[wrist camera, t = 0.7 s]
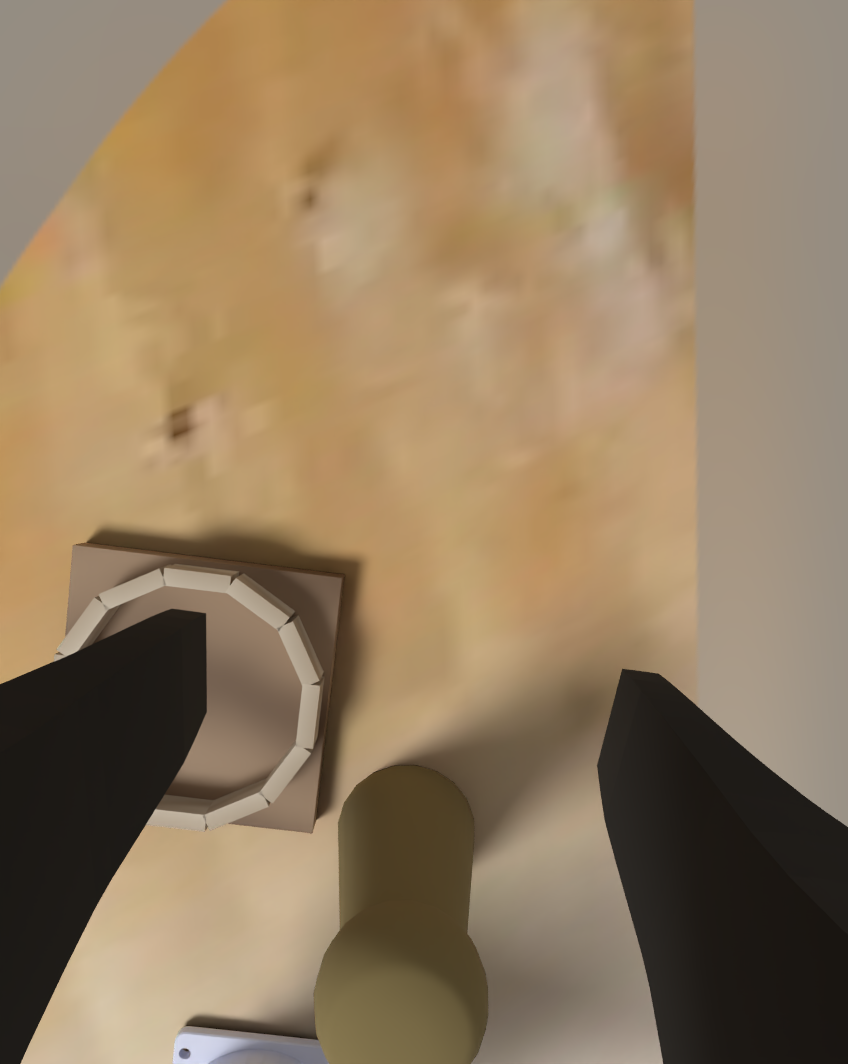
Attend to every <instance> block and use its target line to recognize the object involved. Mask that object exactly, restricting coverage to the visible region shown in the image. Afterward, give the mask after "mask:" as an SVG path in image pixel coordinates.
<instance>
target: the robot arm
mask: <svg viewBox="0 0 848 1064" xmlns="http://www.w3.org/2000/svg"><path fill="white" fill-rule="evenodd" d="M206 713H207V648H206V613H201V612H194V611H187V610H179V609H169V610H166V611H164V612H161V613H159V614H156V615H154V616H152V617H149V618H147V619H145V620H143V621H141V622H138V623H136V624H134V625H132V626H130V627H128V628H126V629H124V630H122V631H119V632H117V633H115V634H113V635H111V636H109V637H107V638H105V639H103V640H100V641H98V642H96V643H94V644H92V645H90V646H88V647H86V648H83V649H81V650H79V651H77V652H75V653H73V654H71V655H68V656H66V657H64V658H61V659H59V660H57V661H54V662H52V663H50V664H47V665H45V666H43V667H40V668H38V669H36V670H33V671H31V672H28V673H26V674H24V675H21V676H19V677H17V678H14V679H12V680H10V681H7V682H5V683H2V684H0V1064H20V1063H21V1061H22V1059H23V1057H24V1054H25V1052H26V1050H27V1048H28V1045H29V1043H30V1041H31V1039H32V1037H33V1035H34V1033H35V1031H36V1028H37V1026H38V1024H39V1022H40V1020H41V1018H42V1016H43V1014H44V1012H45V1009H46V1007H47V1005H48V1003H49V1001H50V999H51V997H52V995H53V993H54V991H55V988H56V986H57V984H58V982H59V980H60V978H61V976H62V974H63V972H64V969H65V967H66V965H67V963H68V961H69V959H70V957H71V955H72V953H73V951H74V949H75V947H76V945H77V943H78V941H79V939H80V937H81V935H82V933H83V931H84V929H85V927H86V925H87V923H88V921H89V919H90V917H91V915H92V913H93V911H94V909H95V908H96V906H97V904H98V902H99V900H100V899H101V897H102V895H103V893H104V892H105V890H106V888H107V886H108V885H109V883H110V881H111V879H112V878H113V876H114V875H115V873H116V871H117V870H118V868H119V867H120V865H121V863H122V862H123V860H124V859H125V857H126V855H127V854H128V852H129V851H130V849H131V847H132V846H133V844H134V843H135V841H136V839H137V838H138V836H139V835H140V833H141V831H142V830H143V828H144V827H145V825H146V824H147V822H148V820H149V819H150V817H151V816H152V814H153V812H154V811H155V809H156V808H157V806H158V804H159V803H160V801H161V800H162V798H163V796H164V795H165V793H166V791H167V790H168V788H169V787H170V785H171V783H172V782H173V780H174V779H175V777H176V775H177V774H178V772H179V770H180V769H181V767H182V765H183V764H184V762H185V760H186V758H187V755H188V753H189V751H190V749H191V747H192V745H193V743H194V740H195V738H196V736H197V734H198V731H199V729H200V727H201V724H202V722H203V720H204V717H205V715H206ZM597 768H598V775H599V783H600V791H601V799H602V805H603V812H604V818H605V823H606V827H607V831H608V834H609V838H610V842H611V845H612V849H613V853H614V856H615V860H616V864H617V867H618V871H619V874H620V878H621V882H622V885H623V889H624V892H625V896H626V899H627V903H628V906H629V910H630V913H631V917H632V921H633V924H634V928H635V931H636V935H637V938H638V942H639V945H640V949H641V953H642V957H643V961H644V965H645V969H646V973H647V978H648V982H649V986H650V991H651V997H652V1002H653V1008H654V1014H655V1019H656V1025H657V1030H658V1036H659V1041H660V1047H661V1052H662V1058H663V1064H848V827H847V826H845V825H844V824H842V823H841V822H840V821H838V820H836V819H835V818H834V817H832V816H831V815H829V814H828V813H826V812H825V811H824V810H822V809H821V808H820V807H818V806H817V805H816V804H814V803H813V802H811V801H810V800H808V799H807V798H806V797H805V796H803V795H802V794H801V793H800V792H798V791H797V790H796V789H794V788H793V787H792V786H791V785H789V784H788V783H787V782H786V781H784V780H783V779H782V778H780V777H779V776H778V775H777V774H775V773H774V772H773V771H772V770H770V769H769V768H768V767H767V766H765V765H764V764H763V763H762V762H760V761H759V760H758V759H757V758H756V757H755V756H753V755H752V754H751V753H750V752H749V751H747V750H746V749H745V748H744V747H743V746H741V745H740V744H739V743H738V742H737V741H736V740H734V739H733V738H732V737H731V736H730V735H729V734H728V733H726V732H725V731H724V730H723V729H722V728H721V727H720V726H719V725H717V724H716V723H715V722H714V721H713V720H712V719H711V718H710V717H708V716H707V715H706V714H705V713H704V712H703V711H702V710H701V709H700V708H698V707H697V706H696V705H695V704H694V703H693V702H692V701H691V700H689V699H688V698H687V697H686V696H685V695H684V694H683V693H681V692H680V691H679V690H678V689H677V688H676V687H675V686H673V685H672V684H671V683H670V682H669V681H667V680H666V679H665V678H663V677H662V676H661V675H659V674H657V673H650V672H642V671H635V670H627V669H622V672H621V676H620V680H619V684H618V687H617V691H616V695H615V699H614V703H613V707H612V711H611V714H610V718H609V722H608V726H607V730H606V734H605V737H604V741H603V745H602V749H601V753H600V757H599V760H598V764H597ZM183 1048H186V1049H189V1051H185V1050H184V1049H183ZM173 1064H329V1063H328V1061H327V1059H326V1058H325V1055H324V1053H323V1050H322V1047H321V1045H320V1042H319V1040H314V1039H305V1038H296V1037H286V1036H277V1035H268V1034H258V1033H249V1032H240V1031H230V1030H221V1029H212V1028H202V1027H193V1026H185V1027H183V1028H181V1029H180V1030H179V1032H178V1034H177V1036H176V1039H175V1045H174V1055H173Z"/></svg>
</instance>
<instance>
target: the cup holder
mask: <svg viewBox="0 0 848 1064" xmlns="http://www.w3.org/2000/svg"><path fill="white" fill-rule="evenodd" d="M344 576H345V574H337V573H329V572H321V571H312V570H304V569H296V568H288V567H280V566H272V565H263V564H255V563H247V562H239V561H231V560H223V559H215V558H206V557H198V556H190V555H182V554H174V553H166V552H157V551H149V550H141V549H133V548H125V547H117V546H109V545H100V544H92V543H81V544H76V545H73V550H72V562H71V574H70V586H69V598H68V610H67V622H66V635H65V638H64V640H63V641H62V643H61V644H60V645H59V647H58V648H57V649H56V650H58V651H59V652H58V653H56V654H55V656H54V661H57V660H59V659H61V658H64V657H66V656H68V655H71V654H73V653H75V652H77V651H79V650H81V649H83V648H86V647H88V646H90V645H92V644H94V643H96V642H98V641H100V640H103V639H105V638H107V637H109V636H111V635H113V634H115V633H117V632H119V631H122V630H124V629H126V628H128V627H130V626H132V625H134V624H136V623H138V622H141V621H143V620H145V619H147V618H149V617H152V616H154V615H156V614H159V613H161V612H164V611H166V610H169V609H179V610H187V611H194V612H201V613H206V648H207V713H206V715H205V717H204V720H203V722H202V724H201V727H200V729H199V731H198V734H197V736H196V738H195V740H194V743H193V745H192V747H191V749H190V751H189V753H188V755H187V758H186V760H185V762H184V764H183V765H182V767H181V769H180V770H179V772H178V774H177V775H176V777H175V779H174V780H173V782H172V783H171V785H170V787H169V788H168V790H167V791H166V793H165V795H164V796H163V798H162V800H161V801H160V803H159V804H158V806H157V808H156V809H155V811H154V812H153V814H152V816H151V817H150V819H149V820H148V822H147V824H146V825H150V826H159V827H168V828H177V829H185V830H194V831H203V832H205V830H206V829H207V827H208V828H209V831H211V830H213V829H216V828H218V827H221V826H223V825H225V824H235V825H244V826H253V827H261V828H270V829H279V830H288V831H296V832H305V833H313V829H314V826H315V822H316V816H317V807H318V799H319V790H320V782H321V773H322V764H323V756H324V747H325V739H326V730H327V722H328V713H329V704H330V696H331V687H332V679H333V670H334V662H335V653H336V645H337V636H338V627H339V619H340V610H341V602H342V593H343V585H344Z"/></svg>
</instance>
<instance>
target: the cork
mask: <svg viewBox="0 0 848 1064" xmlns="http://www.w3.org/2000/svg"><path fill="white" fill-rule="evenodd" d="M338 842H339V906H340V931H339V932H338V934H337V935H336V937H335V938H334V939H333V941H332V942H331V944H330V946H329V947H328V949H327V951H326V952H325V954H324V957H323V961H322V964H321V967H320V971H319V974H318V977H317V981H316V986H315V990H314V1013H315V1026H316V1035H317V1037H318V1040H319V1042H320V1045H321V1047H322V1050H323V1053H324V1055H325V1058H326V1059H327V1061H328V1063H329V1064H471V1062H472V1061H473V1059H474V1058H475V1057H476V1055H477V1054H478V1051H479V1048H480V1045H481V1042H482V1039H483V1036H484V1033H485V1030H486V1025H487V1018H488V986H487V980H486V974H485V971H484V968H483V965H482V963H481V960H480V957H479V954H478V952H477V949H476V947H475V945H474V943H473V941H472V940H471V938H470V937H469V935H468V934H467V929H468V915H469V902H470V889H471V876H472V862H473V849H474V818H473V815H472V812H471V809H470V807H469V804H468V801H467V799H466V798H465V796H464V795H463V794H462V793H461V791H460V790H459V789H458V787H457V786H456V785H455V784H454V783H453V782H452V781H450V780H449V779H447V778H446V777H444V776H443V775H441V774H440V773H438V772H437V771H434V770H430V769H427V768H423V767H420V766H416V765H406V766H392V767H389V768H386V769H383V770H380V771H377V772H374V773H373V774H371V775H370V776H368V777H367V778H366V779H364V780H363V781H362V782H360V783H359V784H358V785H356V787H355V788H354V790H353V791H352V792H351V794H350V795H349V797H348V798H347V799H346V801H345V802H344V805H343V808H342V812H341V815H340V818H339V822H338Z"/></svg>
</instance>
